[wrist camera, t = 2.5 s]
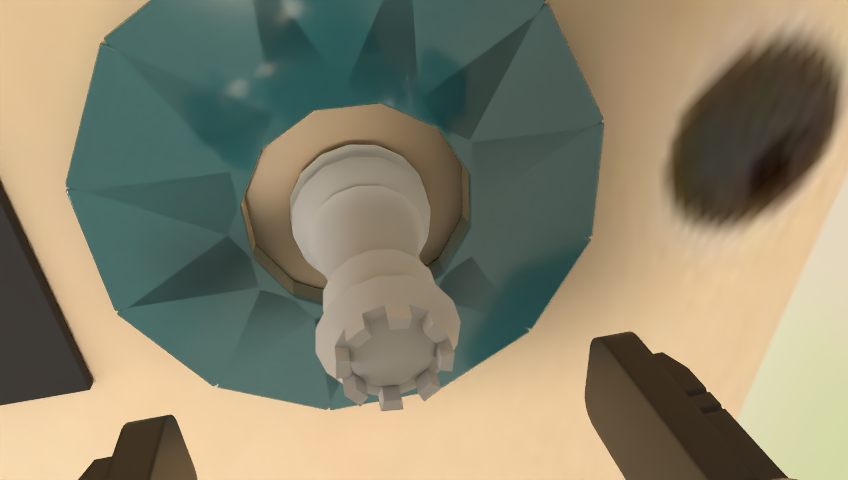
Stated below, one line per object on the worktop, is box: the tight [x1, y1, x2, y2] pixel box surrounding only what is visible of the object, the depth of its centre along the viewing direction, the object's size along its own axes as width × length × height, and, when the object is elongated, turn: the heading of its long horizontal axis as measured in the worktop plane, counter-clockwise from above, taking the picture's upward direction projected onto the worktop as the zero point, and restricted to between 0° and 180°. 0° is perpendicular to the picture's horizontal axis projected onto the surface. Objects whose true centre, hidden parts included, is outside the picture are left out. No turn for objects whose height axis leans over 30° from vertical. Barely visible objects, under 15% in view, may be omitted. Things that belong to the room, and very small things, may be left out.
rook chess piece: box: [290, 144, 461, 411], centre depth 15 cm, size 4×4×8 cm
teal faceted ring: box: [65, 0, 604, 410], centre depth 18 cm, size 16×16×1 cm
